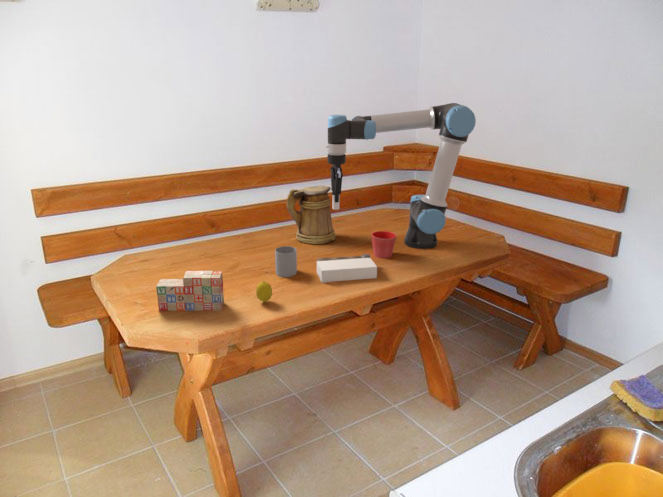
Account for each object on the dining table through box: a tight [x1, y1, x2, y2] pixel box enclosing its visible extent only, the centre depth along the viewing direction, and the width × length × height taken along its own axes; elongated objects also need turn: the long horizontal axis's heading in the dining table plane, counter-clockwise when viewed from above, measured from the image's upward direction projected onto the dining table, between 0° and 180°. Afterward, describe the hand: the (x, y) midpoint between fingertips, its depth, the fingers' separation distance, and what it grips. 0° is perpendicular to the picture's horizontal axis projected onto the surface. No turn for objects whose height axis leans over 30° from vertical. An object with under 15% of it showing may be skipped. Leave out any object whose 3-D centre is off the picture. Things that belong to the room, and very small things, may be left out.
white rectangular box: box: [316, 257, 378, 284], centre depth 211 cm, size 22×10×5 cm, turn 102°
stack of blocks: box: [155, 270, 225, 312], centre depth 182 cm, size 21×6×12 cm, turn 93°
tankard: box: [286, 185, 336, 245], centre depth 248 cm, size 18×24×25 cm
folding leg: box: [316, 253, 371, 262], centre depth 218 cm, size 22×4×5 cm, turn 100°
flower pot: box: [371, 230, 397, 259], centre depth 232 cm, size 11×11×10 cm
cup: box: [274, 245, 298, 278], centre depth 212 cm, size 8×8×10 cm
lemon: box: [255, 281, 273, 303], centre depth 187 cm, size 6×6×8 cm
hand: (335, 208), depth 228 cm, fingers closed
